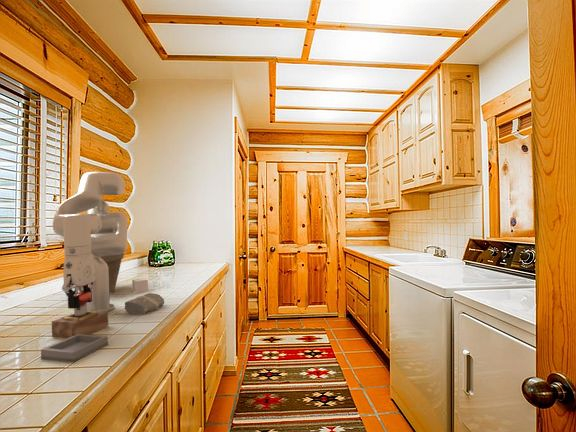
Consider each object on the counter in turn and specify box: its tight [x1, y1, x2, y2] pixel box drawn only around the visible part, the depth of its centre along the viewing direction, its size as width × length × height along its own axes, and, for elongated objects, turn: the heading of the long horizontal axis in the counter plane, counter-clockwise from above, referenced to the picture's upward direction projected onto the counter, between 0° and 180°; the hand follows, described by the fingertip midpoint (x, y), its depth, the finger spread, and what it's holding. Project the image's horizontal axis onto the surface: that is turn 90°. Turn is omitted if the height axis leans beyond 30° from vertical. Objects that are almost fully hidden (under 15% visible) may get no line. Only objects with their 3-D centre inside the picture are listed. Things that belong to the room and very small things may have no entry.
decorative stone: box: [124, 292, 165, 316], centre depth 124 cm, size 13×10×6 cm
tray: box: [40, 334, 109, 363], centre depth 87 cm, size 11×11×2 cm
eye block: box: [51, 311, 109, 339], centre depth 103 cm, size 11×11×6 cm
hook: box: [73, 291, 91, 318], centre depth 103 cm, size 6×6×12 cm
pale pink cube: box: [131, 277, 149, 294], centre depth 158 cm, size 6×6×6 cm
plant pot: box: [78, 253, 125, 294], centre depth 156 cm, size 25×25×22 cm
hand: (80, 304), depth 103 cm, fingers closed on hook, 6 cm apart
